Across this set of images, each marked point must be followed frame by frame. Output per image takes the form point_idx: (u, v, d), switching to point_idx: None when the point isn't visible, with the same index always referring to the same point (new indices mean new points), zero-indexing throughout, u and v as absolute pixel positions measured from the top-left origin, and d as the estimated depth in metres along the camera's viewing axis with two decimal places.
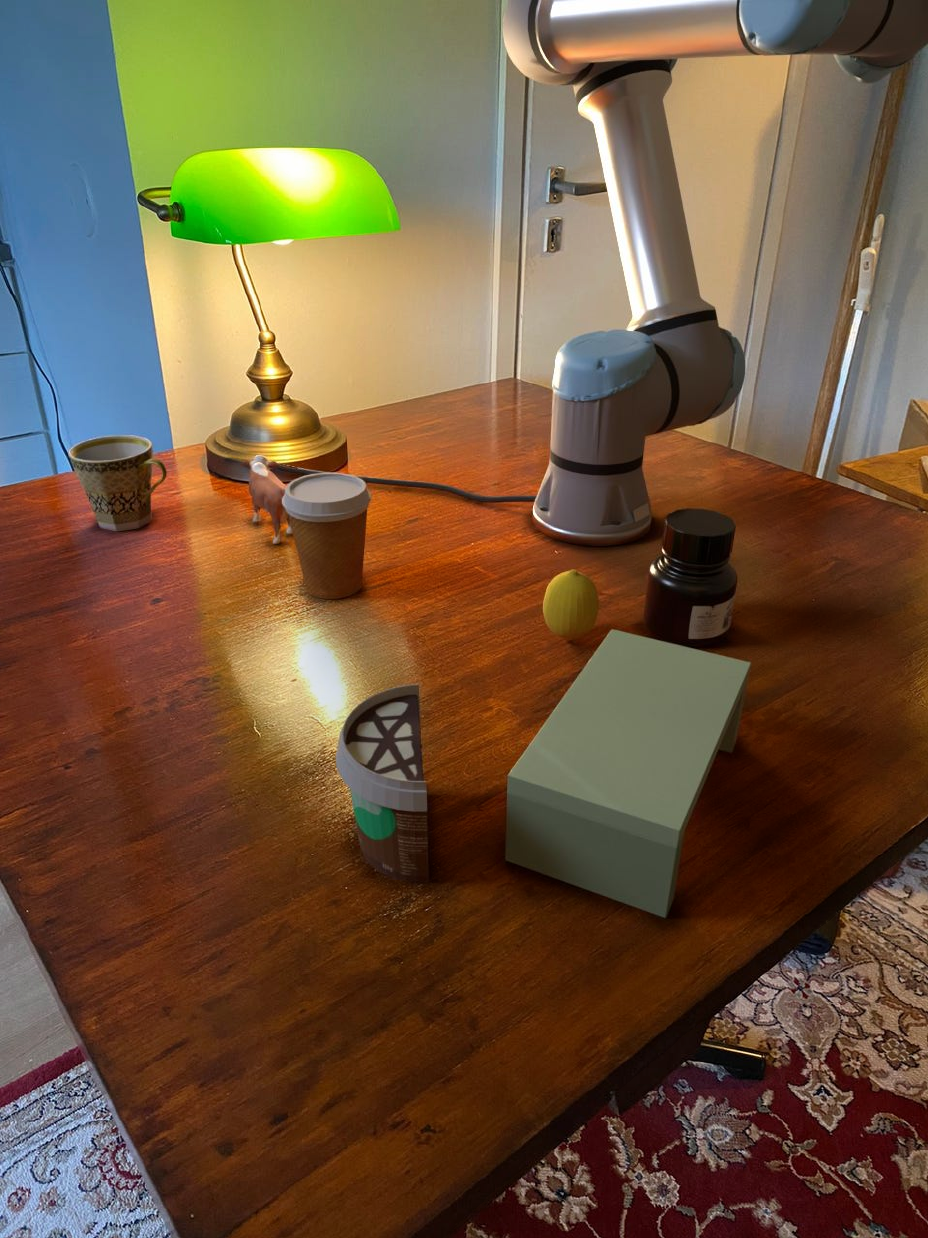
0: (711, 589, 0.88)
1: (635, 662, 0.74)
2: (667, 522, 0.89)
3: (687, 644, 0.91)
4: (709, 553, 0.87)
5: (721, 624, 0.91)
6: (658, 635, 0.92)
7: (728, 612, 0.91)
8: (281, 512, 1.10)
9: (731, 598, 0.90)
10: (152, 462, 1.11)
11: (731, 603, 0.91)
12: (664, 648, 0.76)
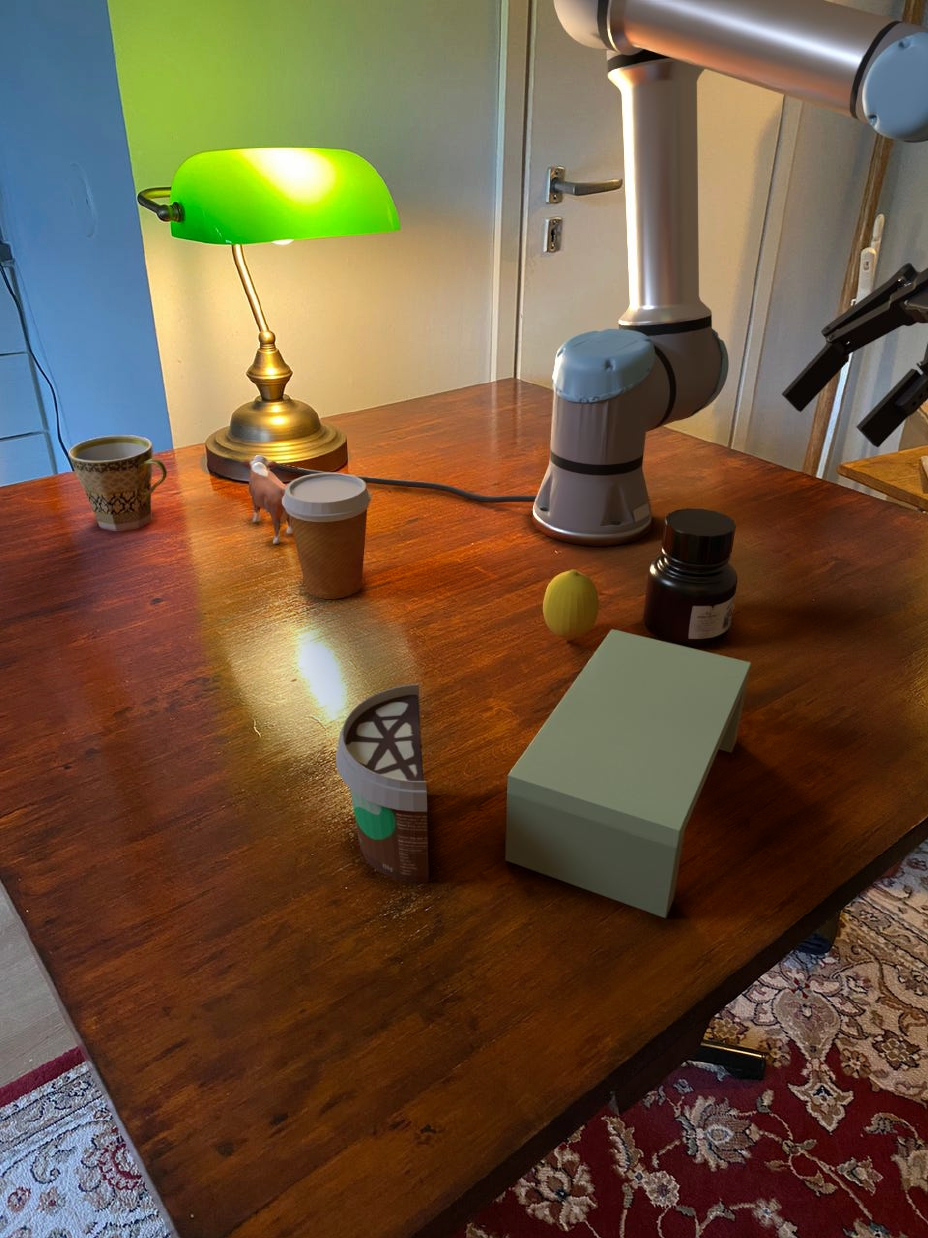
0: (711, 589, 0.88)
1: (635, 662, 0.74)
2: (667, 522, 0.89)
3: (687, 644, 0.91)
4: (709, 553, 0.87)
5: (721, 624, 0.91)
6: (658, 635, 0.92)
7: (728, 612, 0.91)
8: (281, 512, 1.10)
9: (731, 598, 0.90)
10: (152, 462, 1.11)
11: (731, 603, 0.91)
12: (664, 648, 0.76)
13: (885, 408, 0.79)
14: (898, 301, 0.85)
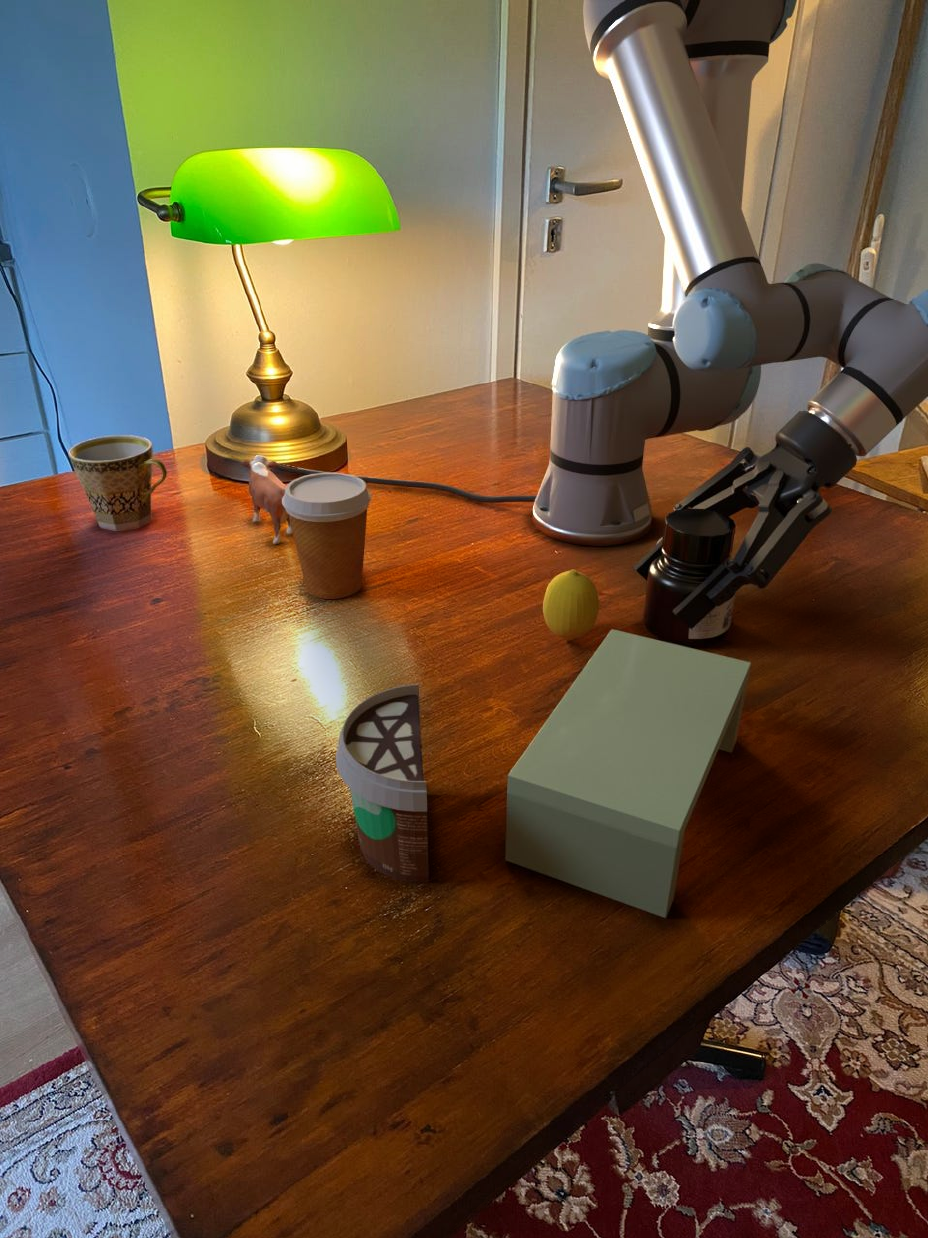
0: None
1: (635, 662, 0.74)
2: (667, 522, 0.89)
3: (687, 644, 0.91)
4: (709, 553, 0.87)
5: (721, 624, 0.91)
6: (658, 635, 0.92)
7: (728, 612, 0.91)
8: (281, 512, 1.10)
9: (731, 598, 0.90)
10: (152, 462, 1.11)
11: (731, 603, 0.91)
12: (664, 648, 0.76)
13: (698, 598, 0.87)
14: (742, 487, 0.91)
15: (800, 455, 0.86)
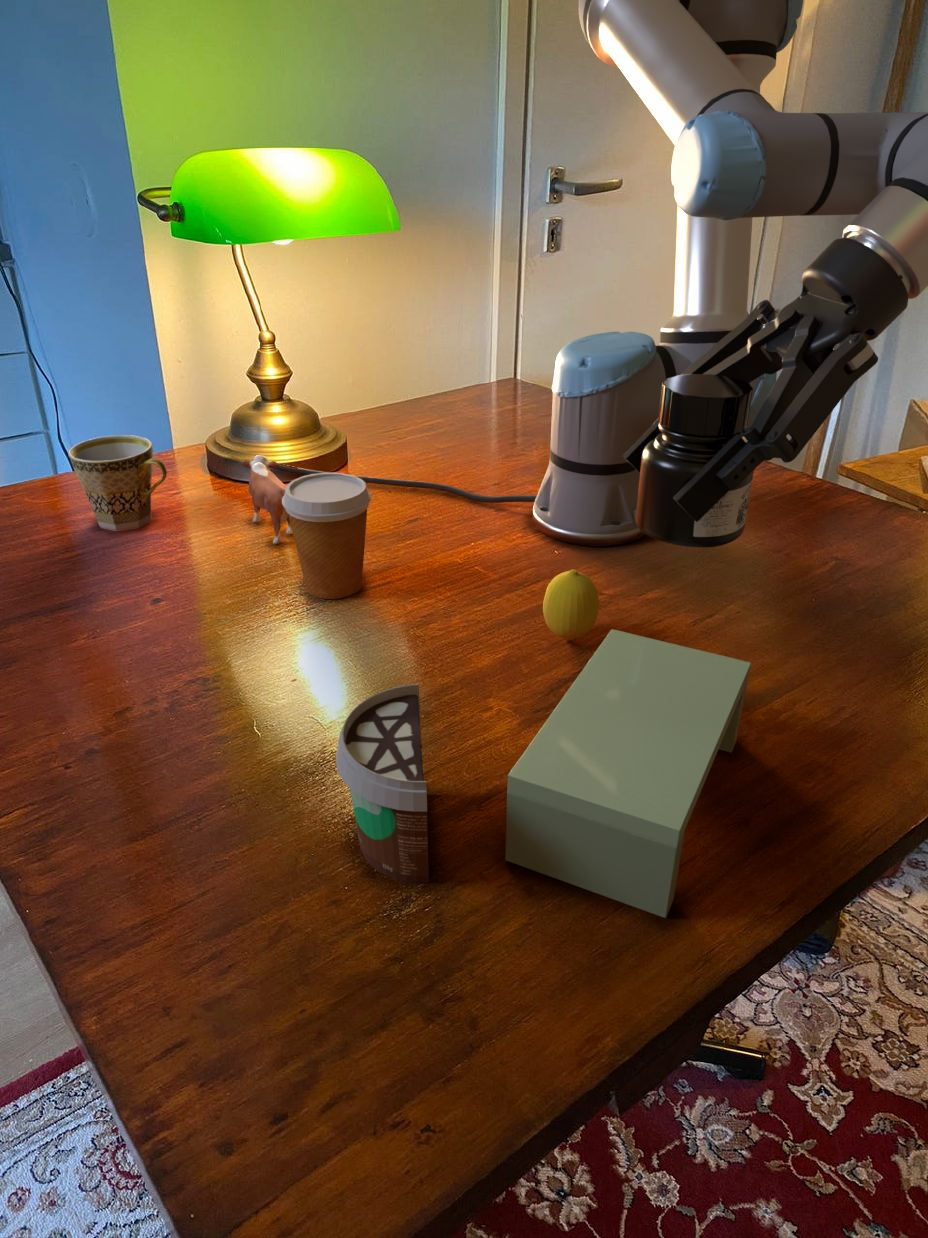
0: None
1: (635, 662, 0.74)
2: (666, 386, 0.70)
3: (692, 544, 0.72)
4: (719, 421, 0.68)
5: (734, 518, 0.71)
6: (655, 535, 0.73)
7: (743, 503, 0.72)
8: (281, 512, 1.10)
9: (747, 484, 0.71)
10: (152, 462, 1.11)
11: (747, 491, 0.71)
12: (664, 648, 0.76)
13: (705, 479, 0.68)
14: (759, 344, 0.71)
15: (836, 292, 0.66)
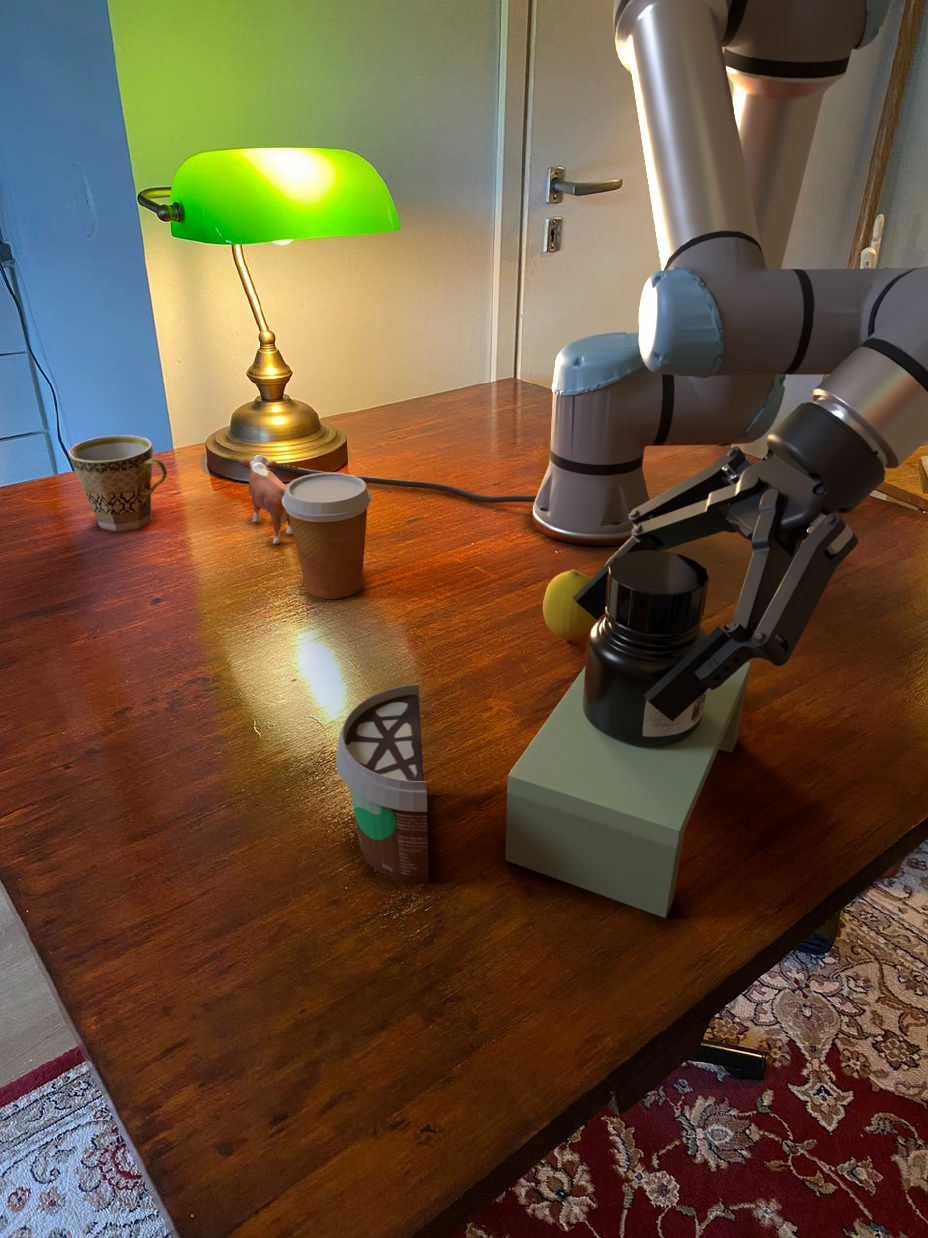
0: None
1: None
2: (611, 573, 0.62)
3: (641, 743, 0.64)
4: (670, 618, 0.60)
5: (689, 715, 0.64)
6: (601, 729, 0.66)
7: (699, 698, 0.64)
8: (281, 512, 1.10)
9: None
10: (152, 462, 1.11)
11: None
12: None
13: (682, 677, 0.58)
14: (717, 505, 0.64)
15: (803, 467, 0.58)
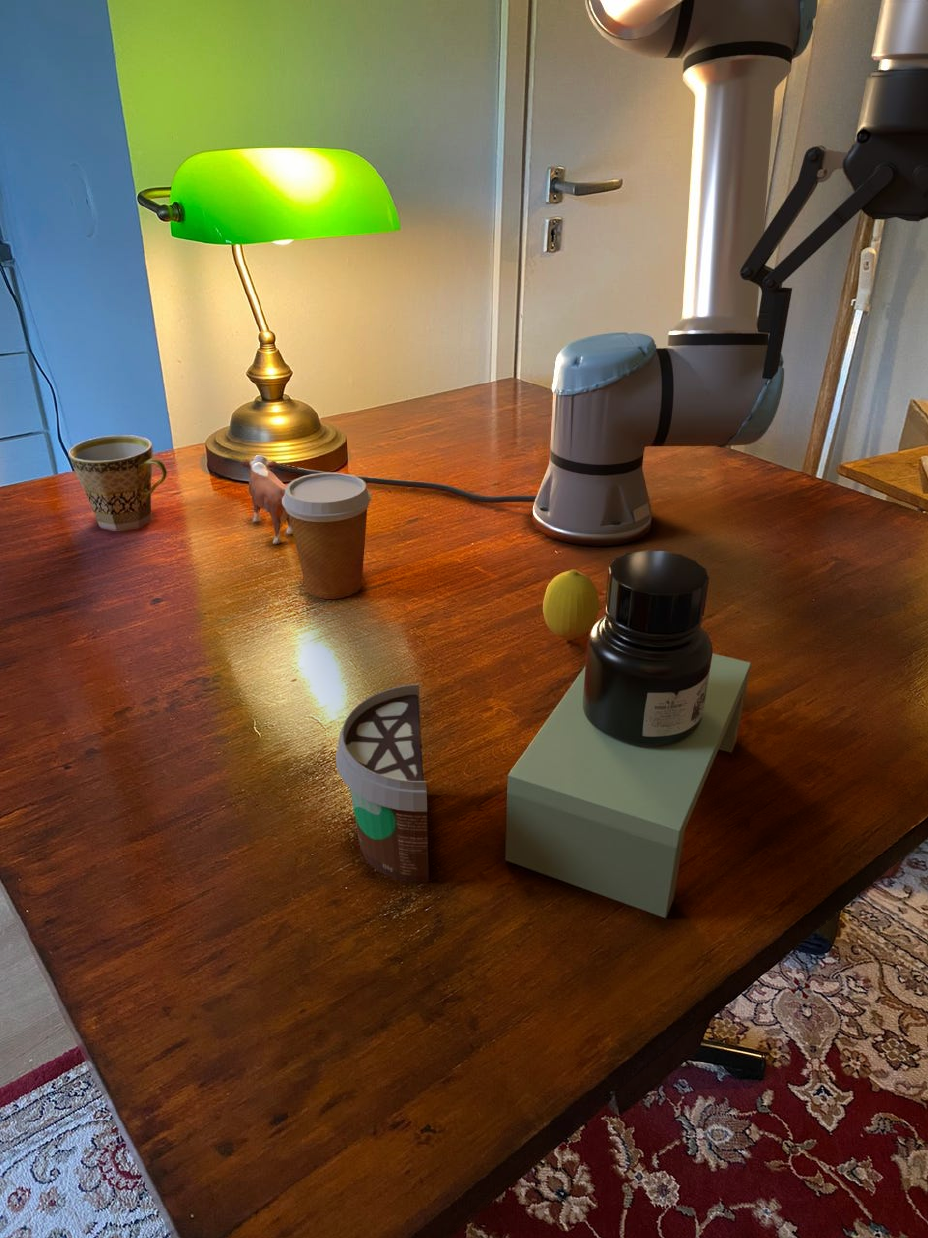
0: (673, 669, 0.61)
1: None
2: (611, 572, 0.62)
3: (641, 743, 0.64)
4: (670, 618, 0.60)
5: (689, 715, 0.64)
6: (601, 729, 0.66)
7: (699, 698, 0.64)
8: (281, 512, 1.10)
9: (703, 679, 0.63)
10: (152, 462, 1.11)
11: (703, 686, 0.64)
12: None
13: None
14: (855, 214, 0.64)
15: None
